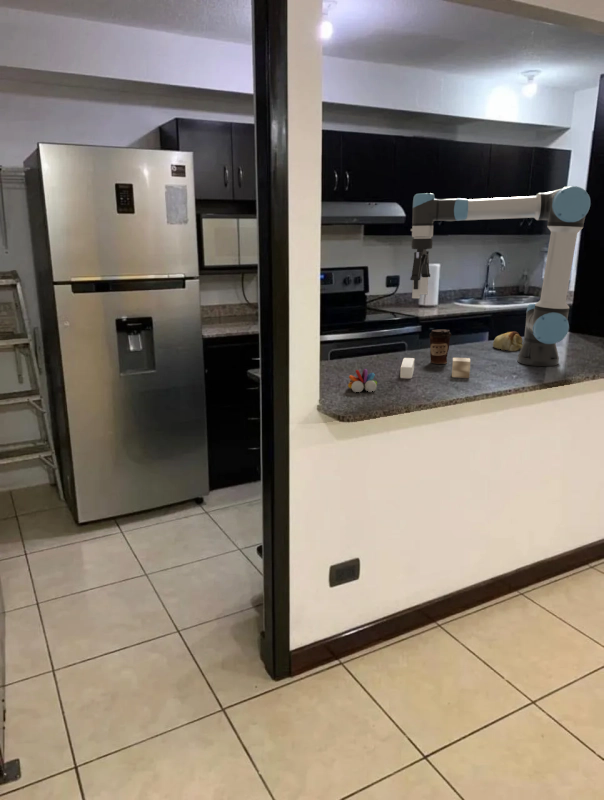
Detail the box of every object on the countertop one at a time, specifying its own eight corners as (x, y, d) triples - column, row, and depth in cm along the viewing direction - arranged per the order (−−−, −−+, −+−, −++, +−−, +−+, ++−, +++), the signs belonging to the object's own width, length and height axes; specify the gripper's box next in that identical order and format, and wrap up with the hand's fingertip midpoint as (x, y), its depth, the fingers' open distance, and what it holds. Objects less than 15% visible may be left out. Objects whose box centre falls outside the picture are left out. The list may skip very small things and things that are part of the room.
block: (468, 374, 217) (469, 358, 215) (469, 378, 211) (470, 361, 210) (451, 373, 218) (452, 357, 217) (451, 377, 213) (452, 360, 211)
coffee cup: (449, 365, 230) (451, 332, 227) (428, 364, 232) (429, 331, 228) (449, 360, 239) (451, 328, 235) (428, 360, 240) (429, 328, 237)
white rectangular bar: (414, 368, 226) (414, 358, 225) (411, 378, 211) (412, 367, 210) (403, 368, 227) (403, 357, 226) (400, 377, 212) (400, 367, 211)
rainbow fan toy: (346, 387, 200) (346, 366, 198) (374, 386, 201) (374, 365, 199) (350, 394, 192) (350, 372, 190) (379, 393, 193) (380, 371, 191)
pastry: (523, 352, 254) (525, 333, 252) (492, 351, 258) (494, 332, 256) (521, 346, 267) (522, 328, 265) (492, 345, 271) (493, 327, 269)
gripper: (419, 237, 230) (417, 292, 236) (404, 238, 208) (402, 299, 214) (438, 237, 227) (436, 293, 233) (425, 238, 205) (422, 300, 211)
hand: (419, 296), depth 223 cm, fingers open, 13 cm apart
